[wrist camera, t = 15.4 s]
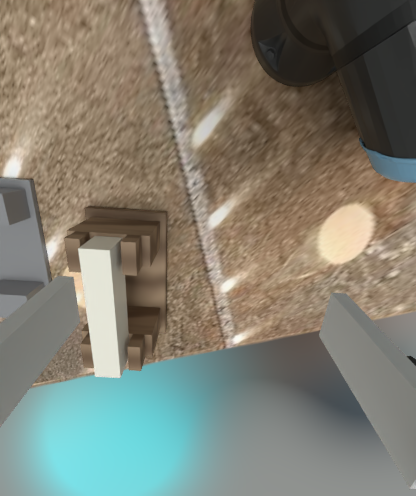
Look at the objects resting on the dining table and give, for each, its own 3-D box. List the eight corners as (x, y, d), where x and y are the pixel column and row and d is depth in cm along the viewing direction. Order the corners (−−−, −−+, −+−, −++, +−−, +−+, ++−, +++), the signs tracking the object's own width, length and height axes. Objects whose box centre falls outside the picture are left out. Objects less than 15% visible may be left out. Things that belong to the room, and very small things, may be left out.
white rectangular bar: (95, 235, 36) (78, 248, 31) (122, 237, 36) (109, 250, 31) (107, 352, 44) (95, 376, 39) (129, 353, 44) (120, 377, 39)
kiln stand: (-27, 175, 42) (-63, 179, 36) (33, 179, 42) (6, 183, 37) (8, 304, 52) (-16, 322, 46) (56, 307, 52) (38, 326, 46)
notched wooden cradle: (88, 206, 44) (45, 226, 32) (167, 211, 44) (152, 233, 33) (101, 325, 53) (71, 373, 42) (166, 328, 54) (154, 378, 42)
